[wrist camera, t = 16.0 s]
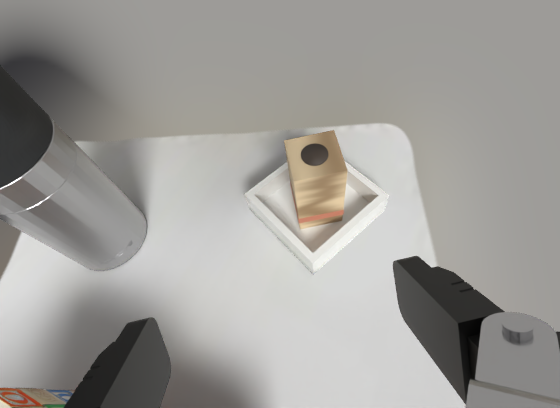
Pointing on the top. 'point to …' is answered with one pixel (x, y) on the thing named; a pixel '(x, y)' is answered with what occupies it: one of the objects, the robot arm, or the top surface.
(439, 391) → the top surface
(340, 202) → the oak block
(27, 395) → the stack of blocks
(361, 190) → the white tray
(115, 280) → the top surface
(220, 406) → the top surface
